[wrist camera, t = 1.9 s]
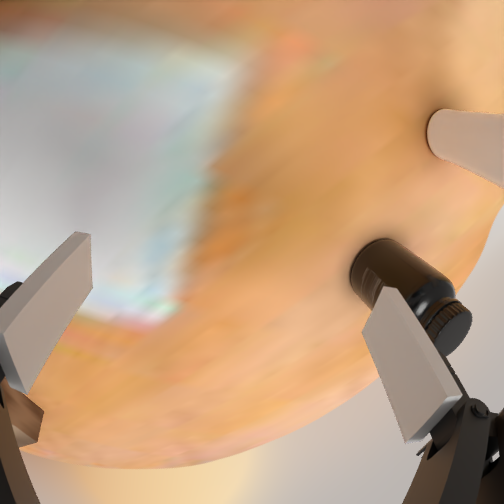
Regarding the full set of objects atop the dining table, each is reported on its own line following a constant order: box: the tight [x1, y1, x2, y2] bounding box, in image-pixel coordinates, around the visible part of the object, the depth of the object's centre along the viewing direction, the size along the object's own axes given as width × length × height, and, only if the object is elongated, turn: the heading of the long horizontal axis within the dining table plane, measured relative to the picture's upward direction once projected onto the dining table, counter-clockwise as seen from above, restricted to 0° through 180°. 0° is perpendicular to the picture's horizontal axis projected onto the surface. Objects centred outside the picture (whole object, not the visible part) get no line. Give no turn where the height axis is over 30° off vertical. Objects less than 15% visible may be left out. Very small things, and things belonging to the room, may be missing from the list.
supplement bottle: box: [351, 239, 472, 357], centre depth 26 cm, size 7×7×12 cm
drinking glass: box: [427, 109, 504, 189], centre depth 20 cm, size 7×7×15 cm
